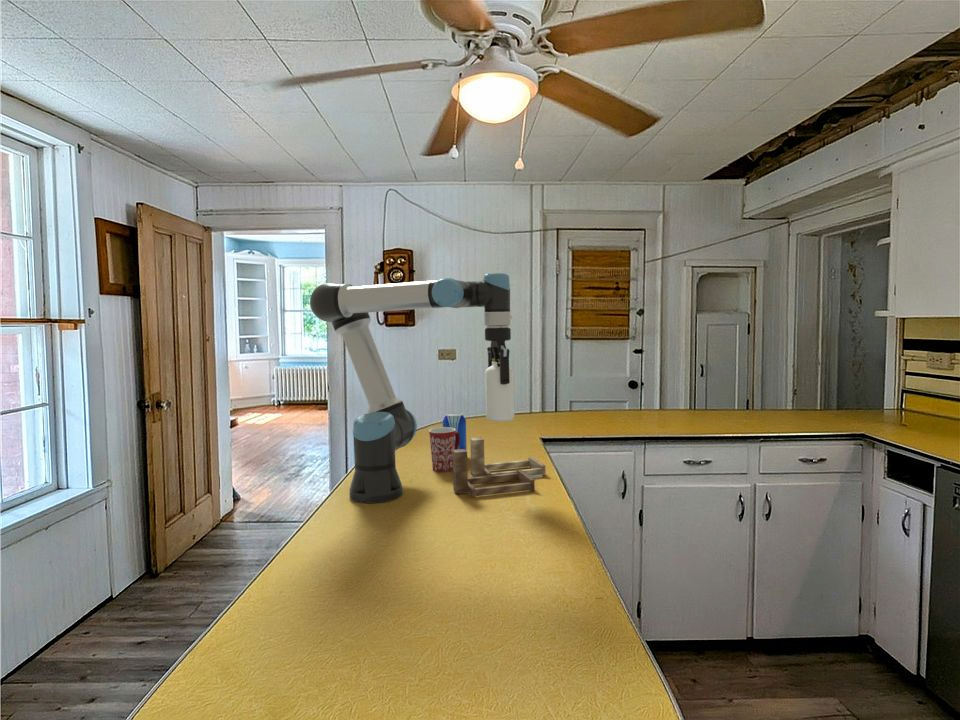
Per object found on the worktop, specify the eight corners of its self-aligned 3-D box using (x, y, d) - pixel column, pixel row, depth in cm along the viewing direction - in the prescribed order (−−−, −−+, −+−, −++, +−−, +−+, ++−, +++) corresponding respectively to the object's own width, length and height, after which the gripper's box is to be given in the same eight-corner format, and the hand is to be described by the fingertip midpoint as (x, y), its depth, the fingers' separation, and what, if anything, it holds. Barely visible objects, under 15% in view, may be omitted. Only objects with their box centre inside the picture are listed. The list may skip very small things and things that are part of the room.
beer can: (466, 460, 203) (465, 416, 202) (442, 460, 203) (441, 416, 202) (467, 454, 211) (466, 412, 210) (444, 454, 211) (443, 412, 210)
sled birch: (477, 481, 175) (476, 443, 174) (467, 471, 186) (466, 435, 185) (545, 474, 181) (545, 437, 180) (531, 465, 192) (531, 430, 191)
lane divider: (494, 482, 175) (494, 479, 175) (493, 481, 176) (493, 479, 176) (542, 477, 179) (542, 474, 179) (541, 476, 180) (541, 474, 180)
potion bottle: (503, 423, 160) (502, 360, 159) (480, 420, 166) (479, 359, 164) (520, 419, 167) (519, 358, 166) (497, 416, 172) (496, 357, 171)
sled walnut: (459, 498, 159) (458, 456, 158) (450, 486, 171) (449, 446, 170) (534, 489, 165) (534, 449, 164) (520, 478, 177) (519, 440, 176)
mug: (443, 474, 185) (442, 433, 184) (424, 469, 191) (423, 430, 190) (469, 466, 195) (468, 427, 194) (450, 462, 201) (449, 424, 200)
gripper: (520, 327, 157) (521, 410, 159) (500, 326, 175) (501, 401, 177) (494, 327, 155) (496, 411, 157) (476, 326, 173) (478, 402, 175)
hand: (498, 405), depth 167 cm, fingers open, 5 cm apart
